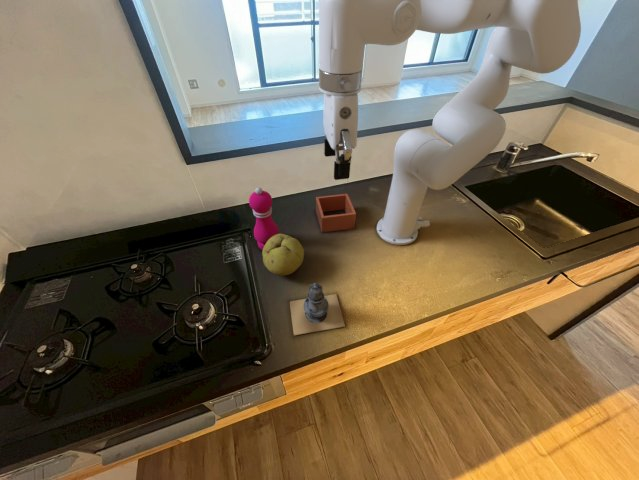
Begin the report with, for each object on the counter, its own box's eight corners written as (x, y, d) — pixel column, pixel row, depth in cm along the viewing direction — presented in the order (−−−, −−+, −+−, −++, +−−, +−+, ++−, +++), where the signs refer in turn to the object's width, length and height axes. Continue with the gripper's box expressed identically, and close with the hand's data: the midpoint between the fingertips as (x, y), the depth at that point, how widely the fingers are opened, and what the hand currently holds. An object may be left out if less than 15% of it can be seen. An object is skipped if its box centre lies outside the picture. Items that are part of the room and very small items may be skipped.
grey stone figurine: (325, 326, 65) (326, 297, 56) (301, 321, 66) (298, 292, 57) (330, 304, 69) (331, 275, 60) (307, 300, 70) (305, 270, 61)
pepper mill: (285, 240, 85) (278, 185, 71) (270, 255, 81) (259, 200, 66) (267, 232, 88) (257, 176, 73) (251, 246, 83) (237, 190, 69)
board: (336, 294, 71) (336, 293, 71) (345, 326, 65) (345, 326, 65) (289, 302, 70) (289, 301, 69) (293, 335, 64) (293, 335, 63)
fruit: (302, 249, 82) (301, 224, 75) (307, 281, 74) (305, 256, 67) (264, 253, 81) (259, 228, 74) (265, 286, 73) (259, 261, 66)
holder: (346, 207, 96) (347, 193, 92) (354, 228, 89) (356, 213, 85) (315, 211, 95) (315, 197, 90) (321, 232, 87) (321, 218, 83)
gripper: (376, 95, 44) (364, 186, 56) (348, 66, 56) (343, 146, 68) (329, 98, 43) (327, 191, 55) (311, 67, 55) (312, 149, 67)
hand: (336, 166), depth 61 cm, fingers open, 9 cm apart
